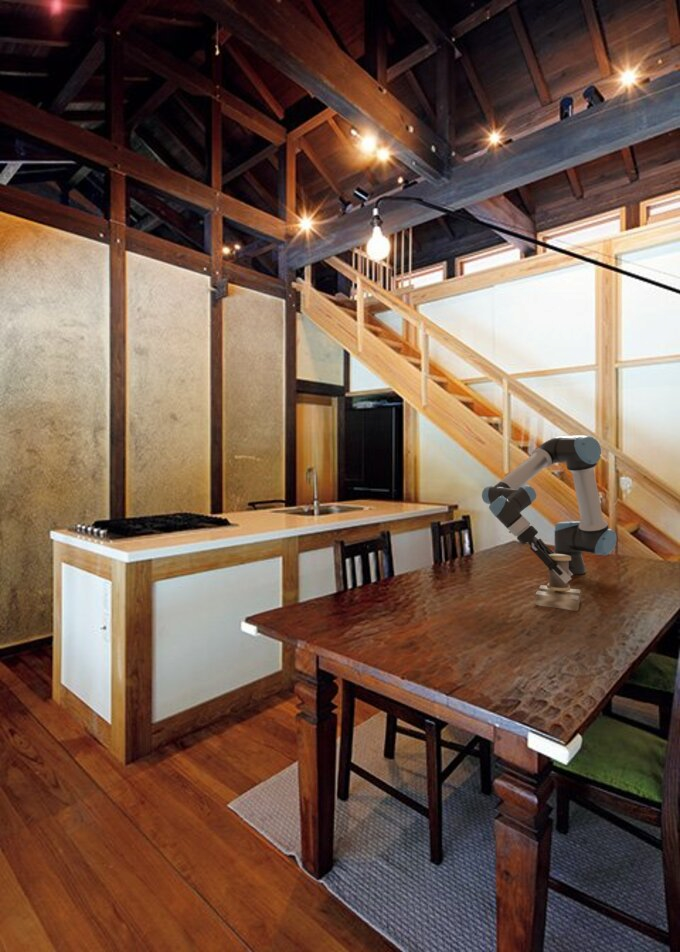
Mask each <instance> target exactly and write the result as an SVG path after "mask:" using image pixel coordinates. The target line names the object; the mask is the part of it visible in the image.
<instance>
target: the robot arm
mask: <svg viewBox="0 0 680 952" xmlns="http://www.w3.org/2000/svg"><path fill="white" fill-rule="evenodd" d="M601 455H602V448H601V445H600V442H599V441H598V440H597V439H596V438H595V437H593V436H591V435H581V434H580V435H567V436H566V435H564V436H563V435H559V436H556V437H552V438H550V439H548V440H546V441H545V442H543V443H541V444H540V445H539V446H538V447H536V448H535V449H534V450H532V453H531V455H530V456H529V457H528V458H526V459H525V460H524V461H523V462H522V463H521V464H520V465H518V466H517V467H516V468H514V469H513V470H512V471H511V472H509V474H507V475H506V476H505V477H504V478H503V479H501V480H500V481H499V482H498V483H496V484H495V485H494V486H486V487H484V488H483V490H482V492H481V499H482V501H483V503H485V504H487V505H489V506H488V509H489V511H490V512H491V513H492V514H493V515H494V517H496V519H498V521H499V522H500V523H501V524H502V525H504V527H505V528H506V529H507V530H508V533H510V534H512V535H513V536H514V537H516V539H517V541H519V543H520V544H521V545H524V546H525V545H526V544H527V543H528V544H529V546H530V547H529V549H530V550H531V551H532V552H533V553H534V554H535V555H536V556H537V558H539V559H540V560H541V561H542V562H543V563H544V565H545V566H546V567H547V568H548V570H549V571H551V570H553V571H554V572H555V573H556V574H557V575H558V576H559V577H560V578H561V579H562V580H563V581H564V583H565V584H566V583H567V582H568V583H569V582H570V581H571V580H572V579H573V578H572V576H573V575H583V574H585V573H586V568H587V567H586V565H585V562H584V558H583V555H582V554H583V553H582V552H585V553H589V554H594V555H596V556H599V555H601V556H607V555H609V554H611V553H612V551H614V549H615V547H616V544H617V532H616V531H615V530H613V529H611V528H609V524H608V523H609V522H608V521H606V519H605V520H604V518H603V512H602V507H601V501H600V496H599V490H598V485H597V480H596V474H595V468H596V467H597V466H598V462H599V461H600V459H601ZM558 463H562V464H566V470H567V471H569V472H571V475H572V480H573V485H574V490H575V491H574V492H575V495H576V501H577V506H578V511H579V516H580V521H574V520H572V521H559V522H556V523H555V526H554V532H553V533H554V547H553V548H554V549H553V550H554V551H553V550H552V549H551V548H550V547H549V546H547V544H546V543H545V542H544V541H543V539H541V538H537V537H536V536H537V534H538V533H539V532H538V530H537V529H536V528H535V527H534V525H531V523H530V522H529V520H528V519H527V518H526V517H525V516H524V515H522V514H521V513H522V511H523V510H525V509H527V508H528V507H529V506H531V505H532V503H533V502H535V500H537V492H536V490H535V489H534V488H533V487H532V486H531V485H529V484H527V483H528V482H529V481H531V480H532V479H533V478H534V477H536V475H537V474H539V473H540V472H541V471H542V470H543V469H546V468H550V466H552V465H555V464H558ZM548 554H564V555H569V556H571V560H570V561H569V570H568V574H567V573H566V572H565V571H564V570H563V569H562V568H561V567H560V566H559V565H557V564H556V563H555V562H554V560H552V558H551V557H550V556H549V555H548Z"/></svg>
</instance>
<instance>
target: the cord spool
mask: <svg viewBox="0 0 680 952" xmlns="http://www.w3.org/2000/svg"><path fill="white" fill-rule="evenodd" d="M548 555H549V556H550V557H551V558H552V560H554V562H555V563H556V564H557V565H559V566H560V567H561V568H562V569H563V570H564V571H565V572H566V573H567V574H568V570H569V561H570V560H571V556H569V555H564V554H548ZM548 575H549V577H548V578H549V579H548V583H546V586H547V588H548V589H551V590H555V591H569V590H570V589H571V586H570V584H569V581H568V582H567V583H566V584H565V583H564V581H563V580H562V579H561V578H560V577H559V576H558V575H557V574H556V573H555V572H554V571H553V570H551V571H550V570H549V574H548Z"/></svg>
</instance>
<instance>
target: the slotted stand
mask: <svg viewBox="0 0 680 952" xmlns="http://www.w3.org/2000/svg"><path fill="white" fill-rule="evenodd" d="M581 593H582V591H581V589H578V588H577V589H576V588H570V590H569V591H555V590H551V589H548V588H547V584H546V585H545V584H540V586H539V587H538V590H537V591H536V593H535V602H534V604H535V606H540V607H547V608H556V609H560V610H568V611H576V612H578V611H579V607H580V606H579V605H580V604H581V603H580V602H581Z"/></svg>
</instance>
